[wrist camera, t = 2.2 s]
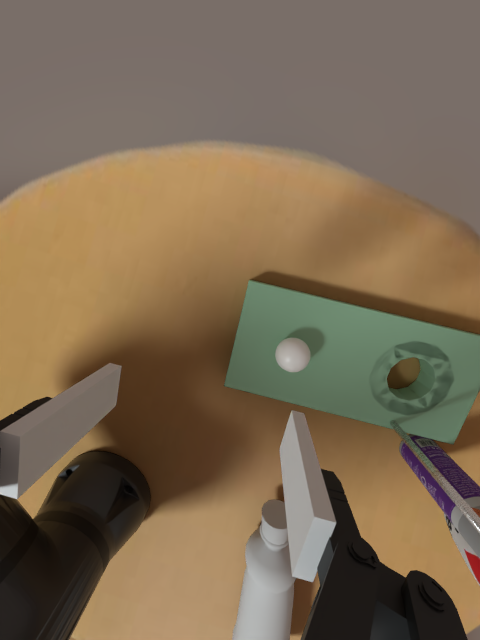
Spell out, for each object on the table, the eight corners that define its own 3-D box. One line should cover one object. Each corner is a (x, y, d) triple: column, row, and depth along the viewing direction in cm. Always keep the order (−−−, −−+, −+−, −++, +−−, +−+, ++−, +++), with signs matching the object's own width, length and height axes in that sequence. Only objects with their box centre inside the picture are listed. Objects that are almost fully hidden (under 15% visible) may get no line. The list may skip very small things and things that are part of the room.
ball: (270, 360, 32) (272, 373, 28) (279, 330, 31) (281, 339, 27) (302, 368, 32) (307, 382, 28) (311, 338, 31) (318, 348, 27)
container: (391, 447, 36) (480, 569, 22) (418, 426, 35) (529, 539, 21) (415, 467, 37) (517, 601, 22) (441, 447, 36) (567, 572, 21)
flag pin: (388, 425, 32) (481, 539, 19) (390, 419, 32) (486, 531, 18) (418, 432, 32) (533, 553, 19) (420, 427, 32) (539, 545, 18)
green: (226, 376, 36) (224, 386, 33) (250, 279, 33) (249, 280, 30) (437, 429, 35) (453, 444, 32) (480, 334, 32) (502, 341, 29)
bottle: (295, 666, 42) (320, 511, 37) (265, 742, 35) (292, 564, 30) (250, 617, 47) (267, 477, 42) (217, 675, 40) (232, 515, 35)
